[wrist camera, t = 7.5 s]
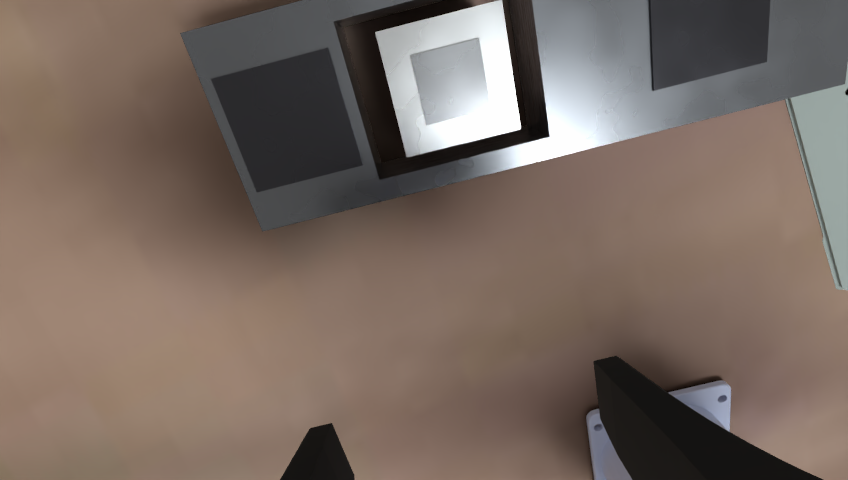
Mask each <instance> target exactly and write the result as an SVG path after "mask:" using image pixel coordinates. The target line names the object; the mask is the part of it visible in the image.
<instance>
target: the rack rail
mask: <svg viewBox="0 0 848 480" xmlns="http://www.w3.org/2000/svg"><path fill="white" fill-rule="evenodd" d="M440 1H444V0H301V1H298V2H294V3H290V4H287V5H283V6H279V7H276V8H272V9H268V10H264V11H261V12H257V13H253V14H250V15H246V16H242V17H239V18H235V19H231V20H227V21H224V22H220V23H216V24H213V25H209V26H205V27H201V28H198V29H194V30H190V31H187V32H183V33H180V34H181V36H182V39H183V41H184V44H185V46H186V48H187V51H188V53H189V56H190V58H191V60H192V63H193V65H194V68H195V70H196V73H197V75H198V77H199V80H200V82H201V85H202V87H203V89H204V92H205V94H206V97H207V99H208V101H209V104H210V106H211V109H212V111H213V113H214V116H215V118H216V121H217V123H218V126H219V128H220V130H221V133H222V135H223V138H224V140H225V142H226V145H227V147H228V150H229V152H230V154H231V157H232V159H233V162H234V164H235V166H236V169H237V171H238V174H239V176H240V179H241V181H242V183H243V186H244V188H245V191H246V193H247V195H248V198H249V200H250V203H251V205H252V207H253V210H254V212H255V215H256V217H257V219H258V222H259V224H260V227H261V229H262V231H266V230H270V229H274V228H278V227H282V226H286V225H290V224H294V223H298V222H302V221H306V220H310V219H314V218H318V217H322V216H326V215H330V214H334V213H338V212H342V211H345V210H349V209H353V208H357V207H361V206H365V205H369V204H373V203H377V202H381V201H385V200H389V199H393V198H397V197H401V196H405V195H409V194H413V193H417V192H421V191H425V190H428V189H432V188H436V187H440V186H444V185H448V184H452V183H456V182H460V181H464V180H468V179H472V178H476V177H480V176H484V175H488V174H492V173H496V172H500V171H504V170H508V169H511V168H515V167H519V166H523V165H527V164H531V163H535V162H539V161H543V160H547V159H551V158H555V157H559V156H563V155H567V154H571V153H575V152H579V151H583V150H587V149H591V148H594V147H598V146H602V145H606V144H610V143H614V142H618V141H622V140H626V139H630V138H634V137H638V136H642V135H646V134H650V133H654V132H658V131H662V130H666V129H670V128H674V127H677V126H681V125H685V124H689V123H693V122H697V121H701V120H705V119H709V118H713V117H717V116H721V115H725V114H729V113H733V112H737V111H741V110H745V109H749V108H753V107H757V106H760V105H764V104H768V103H772V102H776V101H780V100H784V99H788V98H792V97H796V96H800V95H804V94H808V93H812V92H816V91H820V90H824V89H828V88H832V87H836V86H840V85H843V84H845V81H846V72H847V64H848V0H508V1H509V7H510V14H511V21H512V28H513V34H514V41H515V48H516V54H517V61H518V68H519V75H520V81H521V88H522V95H523V101H524V108H525V115H526V122H527V125H526V126H522V127H521V129H520V130H516V131H512V132H508V133H504V134H500V135H496V136H492V137H487V138H483V139H479V140H475V141H471V142H467V143H463V144H459V145H455V146H451V147H447V148H443V149H439V150H435V151H431V152H427V153H423V154H419V155H415V156H411V157H406V156H405V157H401V158H397V159H393V160H389V161H385V162H382V163H381V159H380V156H379V152H378V148H377V145H376V141H375V138H374V134H373V131H372V127H371V124H370V120H369V117H368V113H367V110H366V106H365V103H364V99H363V96H362V92H361V89H360V85H359V81H358V78H357V74H356V71H355V67H354V64H353V60H352V57H351V53H350V50H349V46H348V43H347V39H346V36H345V32H344V29H343V27H346V26H350V25H354V24H358V23H361V22H365V21H369V20H373V19H376V18H380V17H384V16H388V15H391V14H395V13H399V12H403V11H406V10H410V9H414V8H417V7H421V6H425V5H429V4H432V3H436V2H440Z"/></svg>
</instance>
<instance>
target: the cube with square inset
mask: <svg viewBox="0 0 848 480" xmlns="http://www.w3.org/2000/svg"><path fill="white" fill-rule="evenodd" d="M375 34H376V38H377V41H378V45H379V49H380V53H381V57H382V61H383V65H384V69H385V73H386V77H387V81H388V85H389V89H390V93H391V97H392V101H393V105H394V109H395V113H396V117H397V121H398V125H399V129H400V133H401V137H402V141H403V145H404V149H405V153H406V157H411V156H415V155H419V154H423V153H427V152H431V151H435V150H439V149H443V148H447V147H451V146H455V145H459V144H463V143H467V142H471V141H475V140H479V139H483V138H487V137H492V136H496V135H500V134H504V133H508V132H512V131H516V130H520V129H521V126H520V119H519V112H518V105H517V98H516V92H515V85H514V78H513V71H512V64H511V58H510V51H509V44H508V37H507V31H506V24H505V17H504V10H503V3H502V0H498V1H494V2H490V3H486V4H482V5H478V6H475V7H471V8H467V9H463V10H459V11H455V12H451V13H447V14H443V15H440V16H436V17H432V18H428V19H424V20H420V21H416V22H412V23H408V24H405V25H401V26H397V27H393V28H389V29H385V30H381V31H377V32H375Z"/></svg>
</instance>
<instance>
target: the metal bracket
mask: <svg viewBox="0 0 848 480" xmlns="http://www.w3.org/2000/svg"><path fill="white" fill-rule="evenodd" d="M847 89H848V64H847V72H846V81H845V84H843V85H840V86H836V87H832V88H828V89H824V90H820V91H816V92H812V93H808V94H804V95H800V96H796V97H792V98H788V99H785V101H786V104H787V108H788V111H789V115H790V119H791V122H792V126H793V129H794V133H795V137H796V140H797V144H798V147H799V151H800V155H801V158H802V162H803V165H804V169H805V173H806V176H807V180H808V183H809V187H810V190H811V194H812V198H813V201H814V205H815V208H816V212H817V216H818V219H819V223H820V226H821V230H822V234H823V240H822V241H823V244H824V248H825V251H826V255H827V258H828V262H829V265H830V269H831V272H832V276H833V279H834V283H835V286H836V289H839V290H841V289H844V290H848V95H846V94H845V91H846V90H847Z"/></svg>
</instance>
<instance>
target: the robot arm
mask: <svg viewBox="0 0 848 480" xmlns="http://www.w3.org/2000/svg"><path fill="white" fill-rule="evenodd" d="M594 369H595V378H596V387H597V395H598V404H599V409H595V410H592V411H590V412H589V413H588V414H587V416H586V420H587V428H588V436H589V443H590V451H591V459H592V466H593V474H594V480H823V479H821V478H819V477H816V476H814V475H812V474H810V473H807V472H805V471H803V470H801V469H799V468H797V467H795V466H793V465H791V464H788V463H786V462H784V461H782V460H780V459H778V458H776V457H775V456H773V455H771V454H769V453H767V452H765V451H763V450H761V449H759V448H757V447H755V446H754V445H752V444H750V443H748V442H746V441H744V440H743V439H741V438H739V437H737V436H736V435H734V434H732V433H730V404H731V387H730V386H729V385H728V384H727V383H726V382H725V381H722V380H721V381H715V382H711V383H706V384H702V385H698V386H693V387H689V388H685V389H680V390H676V391H672V392H666V391H665V390H663V389H662V388H661V387H659V386H658V385H656V384H655V383H654V382H652V381H651V380H649V379H648V378H647V377H645V376H644V375H642V374H641V373H640V372H638V371H637V370H636V369H634V368H633V367H632V366H630V365H629V364H627V363H626V362H625V361H623V360H622V359H621V358H619V357H617V356H613V357H609V358H605V359H600V360H596V361H594ZM597 424H598V425H597ZM595 425H596V426H595ZM280 480H354V474H353V472H352V469H351V467H350V464H349V462H348V460H347V457H346V455H345V453H344V450H343V448H342V446H341V443H340V441H339V439H338V436H337V434H336V432H335V429H334V427H333V425H332V423H330V424H326V425H322V426H318V427H313V428H310V429H309V431H308V433H307V434H306V436H305V438H304V439H303V441H302V443H301V445H300V446H299V448H298V450H297V451H296V453H295V455H294V457H293V458H292V460H291V462H290V464H289V465H288V467H287V469H286V471H285V472H284V474H283V476H282V477H281V479H280Z"/></svg>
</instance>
